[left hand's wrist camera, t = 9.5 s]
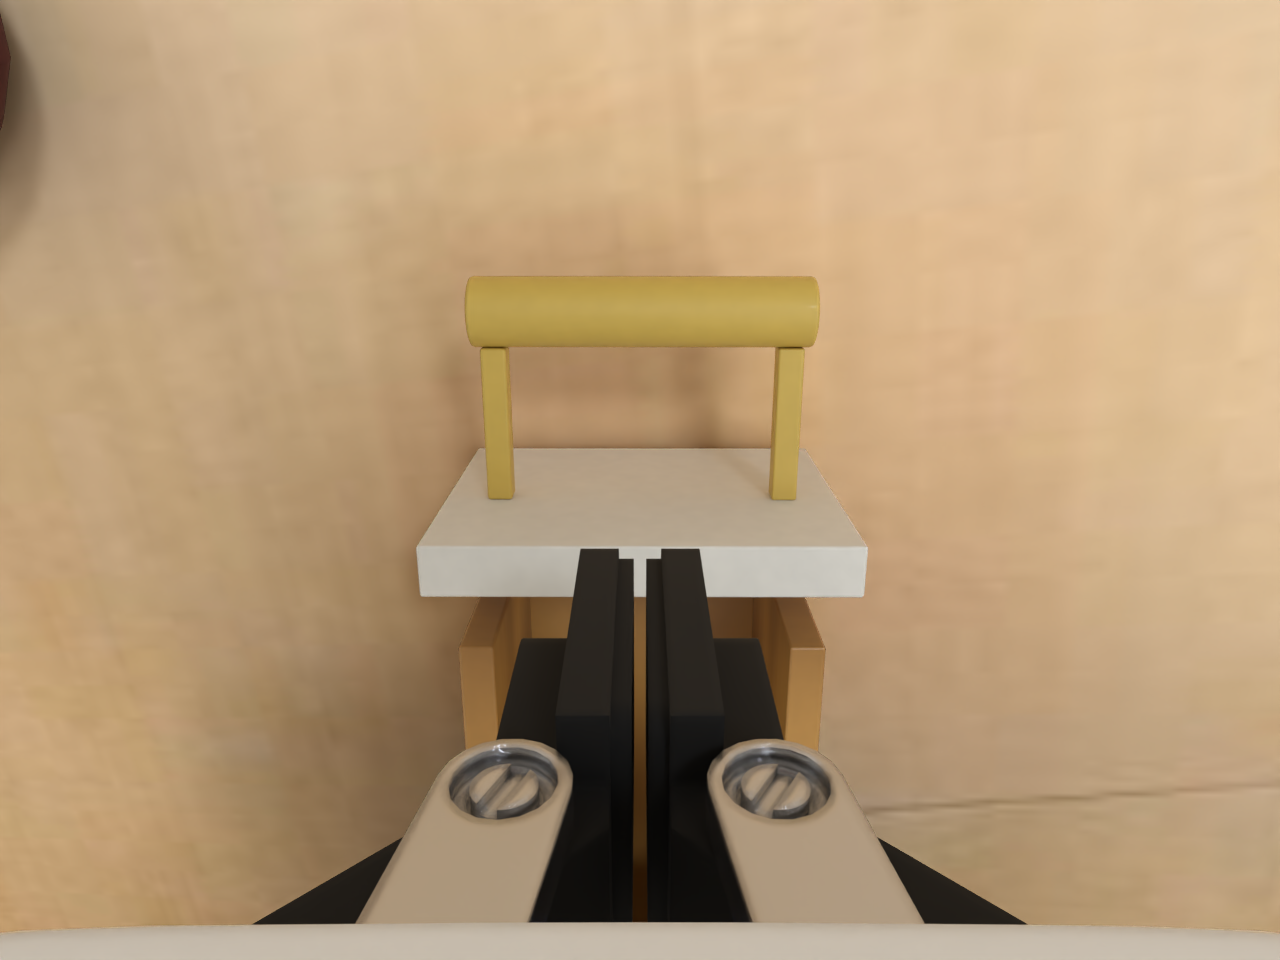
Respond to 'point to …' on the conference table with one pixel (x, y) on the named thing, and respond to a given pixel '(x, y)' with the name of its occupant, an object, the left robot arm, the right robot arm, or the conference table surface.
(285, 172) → the conference table surface
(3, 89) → the dark maroon ball
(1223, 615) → the conference table surface
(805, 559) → the drawer
